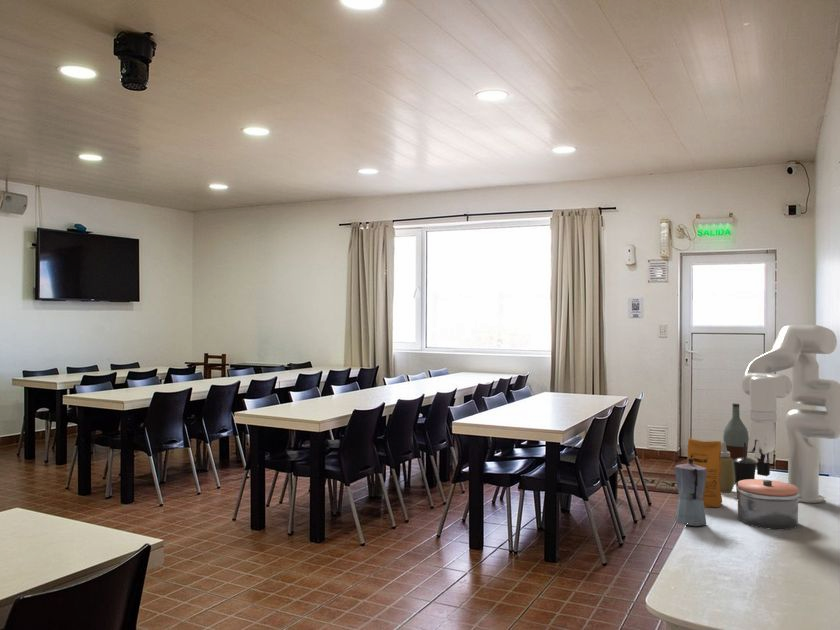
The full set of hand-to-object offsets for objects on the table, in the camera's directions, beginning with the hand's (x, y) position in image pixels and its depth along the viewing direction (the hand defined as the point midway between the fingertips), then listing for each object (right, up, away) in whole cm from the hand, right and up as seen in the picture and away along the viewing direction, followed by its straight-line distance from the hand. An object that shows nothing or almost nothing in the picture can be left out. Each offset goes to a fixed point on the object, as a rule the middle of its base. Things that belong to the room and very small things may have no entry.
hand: (763, 474), depth 222 cm
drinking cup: (+7, -15, +29) cm, 34 cm away
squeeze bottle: (+5, -15, +42) cm, 45 cm away
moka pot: (-22, -15, 0) cm, 27 cm away
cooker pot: (+2, -15, +2) cm, 15 cm away
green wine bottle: (+17, -16, +59) cm, 63 cm away
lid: (+2, -5, +2) cm, 6 cm away
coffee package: (-10, -15, +24) cm, 30 cm away
